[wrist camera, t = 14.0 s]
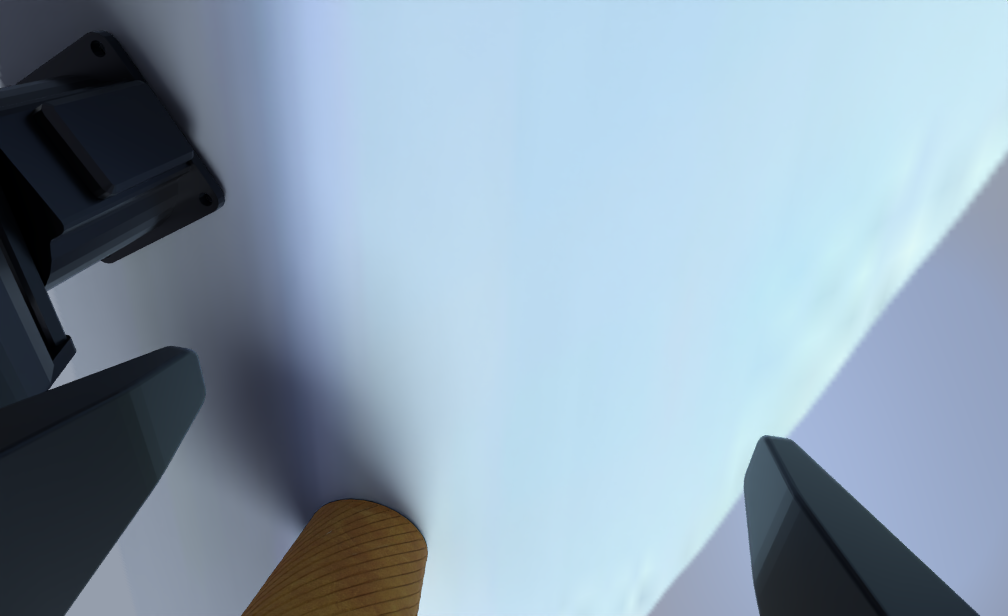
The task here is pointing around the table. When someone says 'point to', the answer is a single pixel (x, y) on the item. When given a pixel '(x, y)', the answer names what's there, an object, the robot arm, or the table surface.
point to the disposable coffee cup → (348, 566)
